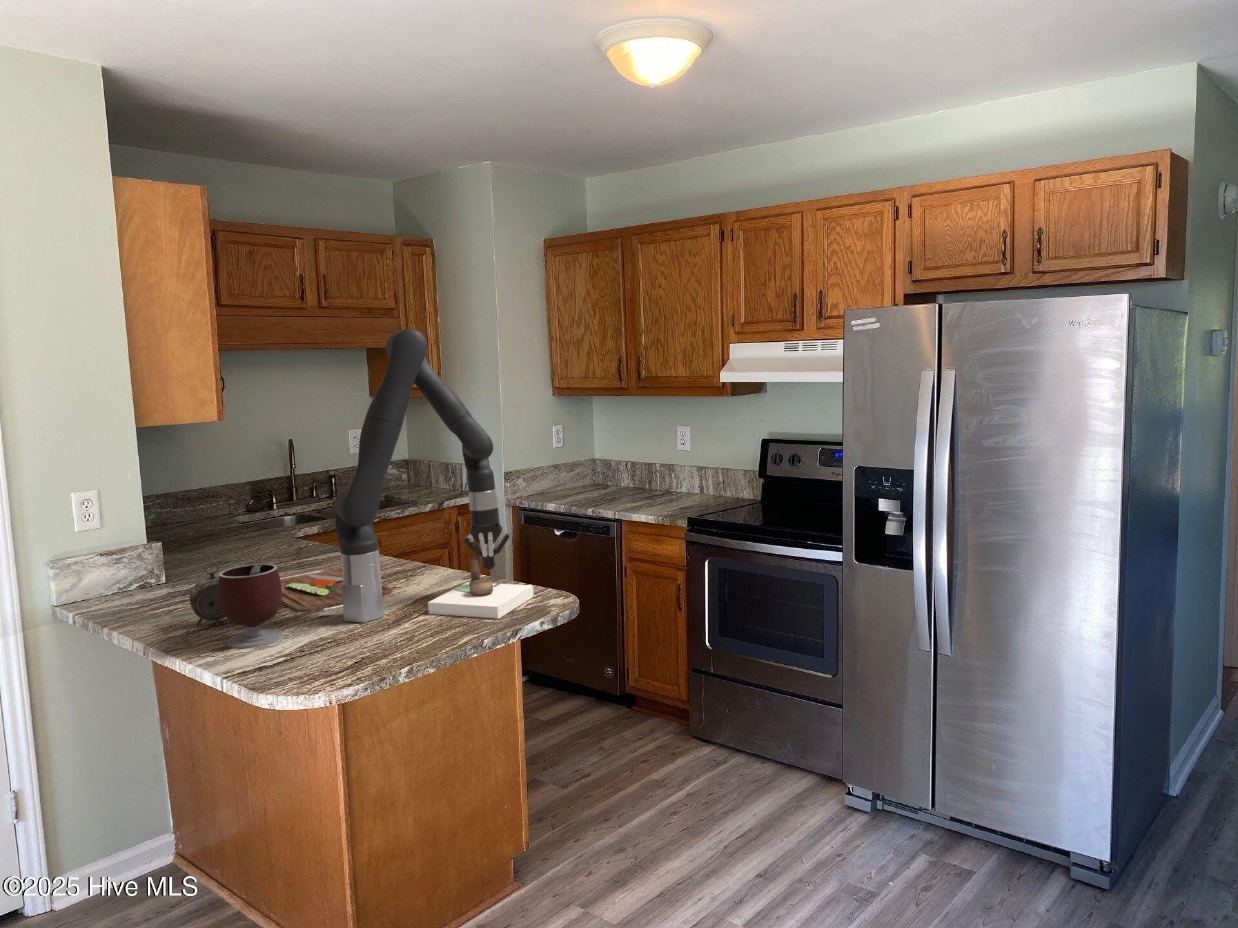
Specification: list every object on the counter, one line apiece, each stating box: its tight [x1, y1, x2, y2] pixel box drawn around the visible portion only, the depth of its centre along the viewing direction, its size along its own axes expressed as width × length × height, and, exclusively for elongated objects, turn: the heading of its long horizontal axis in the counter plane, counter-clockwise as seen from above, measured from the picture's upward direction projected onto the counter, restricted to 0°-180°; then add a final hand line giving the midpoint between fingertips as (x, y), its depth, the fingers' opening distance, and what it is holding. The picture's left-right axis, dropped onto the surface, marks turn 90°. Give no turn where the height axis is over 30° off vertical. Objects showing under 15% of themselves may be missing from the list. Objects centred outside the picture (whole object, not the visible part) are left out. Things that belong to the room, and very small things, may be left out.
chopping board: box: [280, 567, 393, 613], centre depth 261 cm, size 45×27×3 cm, turn 38°
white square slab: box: [427, 581, 534, 619], centre depth 237 cm, size 20×20×3 cm
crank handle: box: [469, 556, 493, 595], centre depth 240 cm, size 13×6×7 cm, turn 18°
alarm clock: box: [189, 561, 227, 627], centre depth 231 cm, size 11×5×16 cm, turn 123°
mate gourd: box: [218, 563, 284, 649], centre depth 215 cm, size 16×14×20 cm
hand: (490, 569), depth 245 cm, fingers closed
